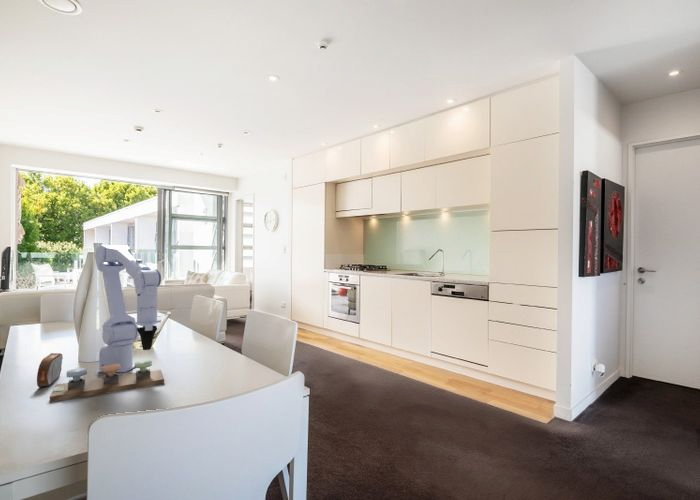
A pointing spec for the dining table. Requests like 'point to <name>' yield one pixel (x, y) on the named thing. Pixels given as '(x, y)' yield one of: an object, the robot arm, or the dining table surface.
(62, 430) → the dining table surface
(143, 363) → the sage button
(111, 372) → the terracotta button
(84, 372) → the slate button
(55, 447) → the dining table surface
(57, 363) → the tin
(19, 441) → the dining table surface
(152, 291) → the robot arm
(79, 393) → the button board
